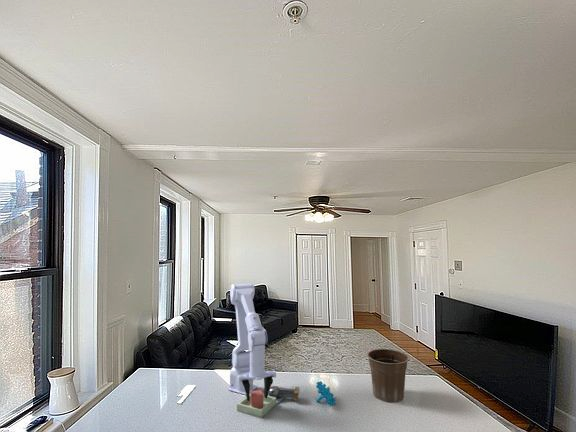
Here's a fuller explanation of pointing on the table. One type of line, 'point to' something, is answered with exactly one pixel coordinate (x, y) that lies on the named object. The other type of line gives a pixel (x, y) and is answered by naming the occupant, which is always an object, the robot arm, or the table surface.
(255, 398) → the block
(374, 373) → the plant pot
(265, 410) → the tray
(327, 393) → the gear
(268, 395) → the crank base
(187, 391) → the butcher knife
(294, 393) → the crank
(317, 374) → the table surface
